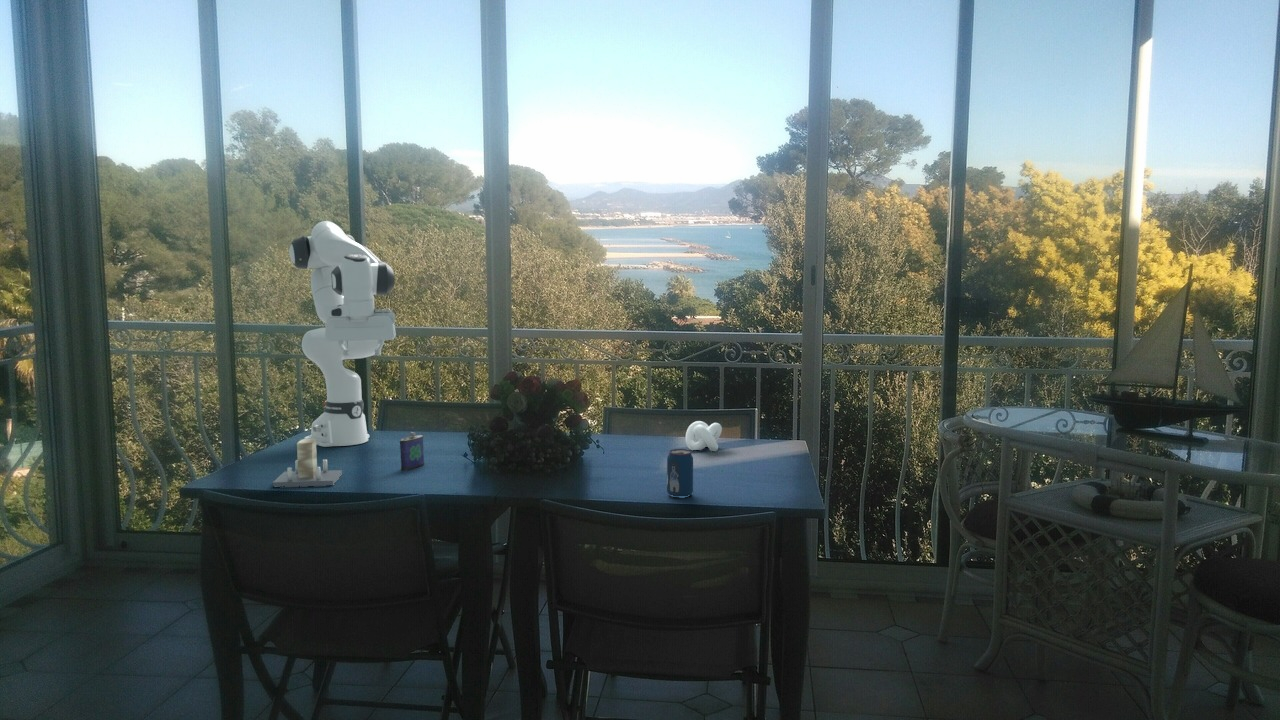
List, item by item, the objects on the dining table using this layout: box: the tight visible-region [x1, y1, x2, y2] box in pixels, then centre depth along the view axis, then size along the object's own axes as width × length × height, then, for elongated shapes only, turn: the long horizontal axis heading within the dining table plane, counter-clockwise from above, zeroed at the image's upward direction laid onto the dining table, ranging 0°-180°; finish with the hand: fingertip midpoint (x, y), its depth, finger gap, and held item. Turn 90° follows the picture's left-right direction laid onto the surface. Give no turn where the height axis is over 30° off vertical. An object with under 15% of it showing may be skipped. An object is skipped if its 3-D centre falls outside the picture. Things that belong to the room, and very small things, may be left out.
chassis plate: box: [272, 459, 343, 488], centre depth 260 cm, size 16×12×5 cm
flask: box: [399, 431, 425, 471], centre depth 276 cm, size 9×3×11 cm, turn 152°
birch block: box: [296, 438, 318, 478], centre depth 260 cm, size 4×5×10 cm
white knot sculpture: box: [685, 420, 723, 452], centre depth 299 cm, size 11×12×9 cm
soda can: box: [666, 448, 694, 496], centre depth 245 cm, size 7×7×12 cm
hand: (362, 355), depth 277 cm, fingers open, 8 cm apart
